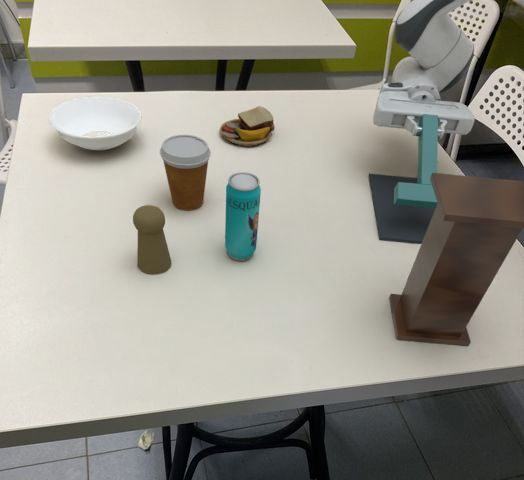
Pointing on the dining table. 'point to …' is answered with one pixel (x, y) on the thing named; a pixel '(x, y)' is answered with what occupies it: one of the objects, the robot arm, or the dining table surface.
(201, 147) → the disposable coffee cup
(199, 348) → the dining table surface
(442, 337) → the stand
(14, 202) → the dining table surface
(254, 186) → the beverage can
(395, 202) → the letter T
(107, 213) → the dining table surface
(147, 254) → the olive pawn
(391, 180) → the mat
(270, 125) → the toy sandwich meal
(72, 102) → the bowl
